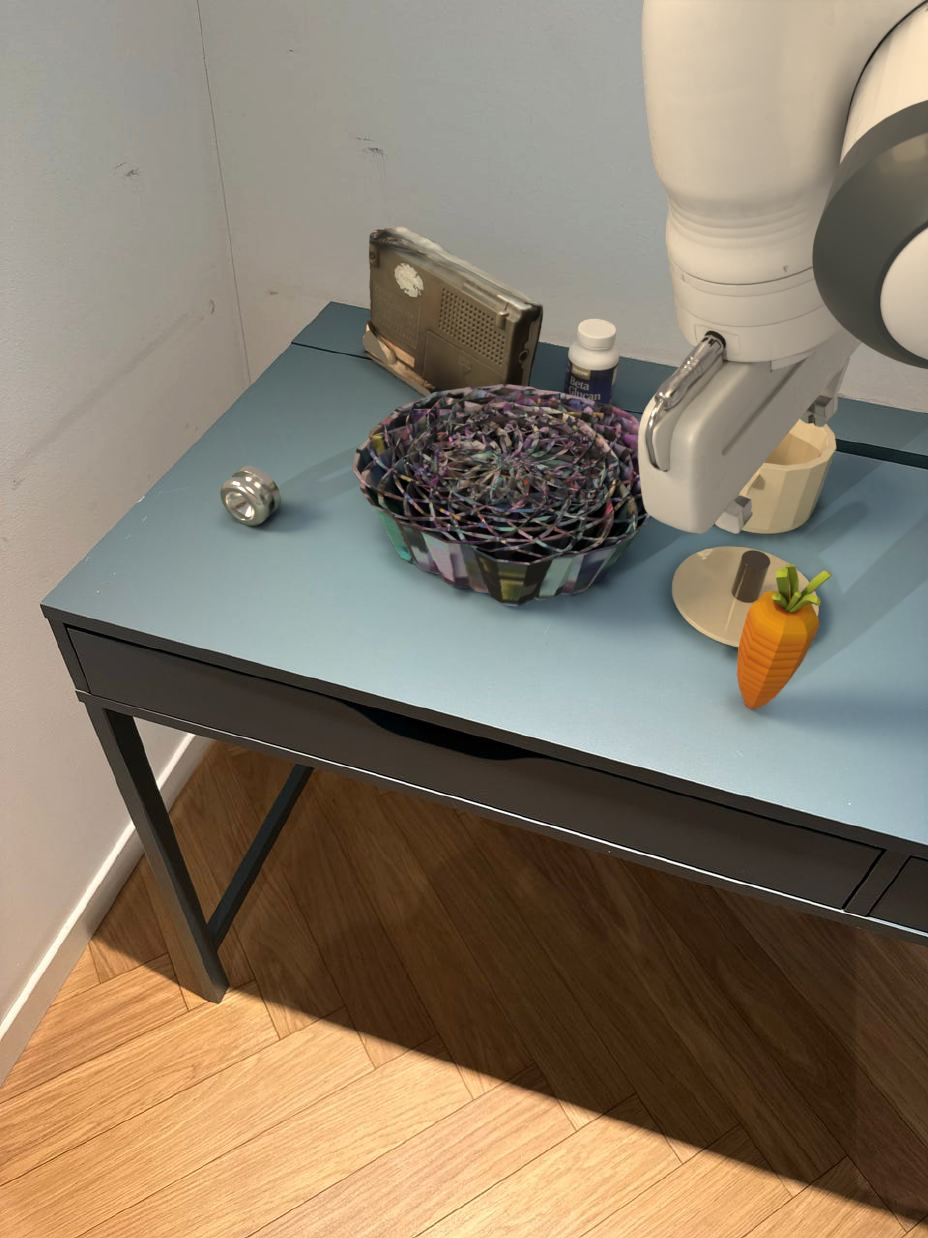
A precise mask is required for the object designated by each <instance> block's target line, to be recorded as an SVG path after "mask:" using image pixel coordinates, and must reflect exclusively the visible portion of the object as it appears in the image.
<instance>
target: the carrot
mask: <svg viewBox="0 0 928 1238" xmlns="http://www.w3.org/2000/svg"><path fill="white" fill-rule="evenodd" d="M785 567H786V568H780V569H777V572H776V579H777V586H778V590H779V591H767V592H764V593H763V594H762V595H761V596H760V597H759V598H758V599H757V600H756V601H755V603H754V604H753V605H752V606H751V607H750V608H749V610H748V613H747V617H746V620H745V624H744V627H743V631H742V635H741V639H740V643H739V647H737V661H736V678H737V684H738V688H739V689H738V690H739V692H740V694H741V698H742V700H743V703H744V705H745V707H746V708H748V709H749V710H758V709H760V708H762V707H763V706H766V705H767V704H768V703H770V702H771V701H772V700H774V699H775V698H776V697H777V696H778V694H779V693H780V692H781V691H782V690H784V687H785V686H786V685H787V684H788V682H789V681H790V680H791V679H792V677H793V676H794V675H795V674H796V672H797V671H798V669H799V668H800V666H801V665H802V664H803V662H804V659H805V657H806V655H807V654H808V651H809V649H810V647H811V646H812V643H813V641H814V638H815V636H816V635H817V632H818V630H819V627H820V619H819V616H818V617H817V615H816V613H815V610H814V608H813V606H812V604H815V605H818V606H819V607H820V606H821V604H822V600H821V597H818V596H817V597H816V596H814V595H811V593H812V592H814V591H815V592H816V590H817V589H818V588H819V587H821V586H822V584H824V583H825V582H826V581H828V580H829V579H830V578H831V577H832V576H833V575H832V574H831V572H830V571H829V570H826V569H825V570H823V571H821V572H819V573H818V574H817V575H816V576H814V577H813V578H812V580H811V581H809V582H810V583H809V584H808V585H807V586H806V587H805V589H804V590H803V591H802V592H800V591H798V587H799V579H798V574H797V570H798V569H797V568H796V564H795V563H789V564H788V565H785ZM796 569H797V570H796ZM789 583H790V590H789Z"/></svg>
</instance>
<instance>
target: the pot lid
mask: <svg viewBox="0 0 928 1238" xmlns="http://www.w3.org/2000/svg"><path fill="white" fill-rule="evenodd" d="M788 564H790V563H789V562H788V561H785V560H783V559H782V558H780V557H777V556H776V555H773V554H771V553H768V552H765V551H762V550H759V549H756V548H749V547H746V546H745V547H744V546H733V545H732V546H731V545H730V546H729V545H728V546H727V545H726V546H716V547H710V548H709V547H708V548H706V549H702V550H699V551H697V552H695V553H694V554H691V555H689V556H688V557H686V559H684V560H682V562H681V563H680V564H679V566H678V567H677V568H676V570H675V572H674V575H673V577H672V582H671V596H672V599H673V602H674V604H675V607H676V608H677V610H678V612H679V613H680V615H681V616H682V617H683V619H684V620H685V621H687V623H688V624H689V625H690V626H692V627H693V628H694V629H695V630H697V631H698V632H699V633H701V634H703V635H705V636H706V637H708V638H711V639H712V640H714V641H716V642H719V643H722V644H723V645H728V646H731V647H735V648H738V647H739V643H740V639H741V635H742V631H743V627H744V624H745V620H746V617H747V613H748V610H749V608H750V607H751V606H752V605H753V604H754V603H755V601H756V600H757V599H758V598H759V597H760V596H761V595H762V594H763V593H764V592H767V591H779V590H778V586H777V579H776V572H777V569H780V568H786V567H785V565H788ZM796 570H797V574H798V579H799V587H798V591H800V592H802V591H803V590H804V589H805V587H806V586H807V585H808V584H809V583H810V582H811V581H809V580H808V578H807V577H806V576H805V575H804V574H803V573H802V572H801V571H800V570H798V569H797V568H796ZM789 590H790V583H789ZM811 595H814V596H816V597H818V595H817V593H816V590H815V591H814V592H812V593H811ZM812 606H813V608H814V610H815V613H816V615H817V617H818V618H819V613H820V606H818V605H815V604H812Z"/></svg>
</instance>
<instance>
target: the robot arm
mask: <svg viewBox="0 0 928 1238" xmlns="http://www.w3.org/2000/svg"><path fill="white" fill-rule="evenodd" d="M640 34H641V35H640V36H641V37H640V39H641V66H642V77H643V91H644V103H645V111H646V120H647V128H648V137H649V144H650V150H651V157H652V162H653V166H654V170H655V172H656V175H657V177H658V179H659V182H660V183H661V185H662V187H663V189H664V191H665V194H666V197H667V203H668V210H667V218H666V222H665V229H664V230H665V237H664V238H665V247H666V252H667V260H668V266H669V267H668V268H669V273H670V279H671V281H670V282H671V287H672V292H673V298H674V306H675V312H676V319H677V325H678V327H679V330H680V332H681V334H682V336H683V337H684V338H685V340H686V341H687V342H688V343H689V344H690V345H691V346H693V347H694V348H693V349H692V350H691V351H690V353H688V354H687V355H686V357H685V358H684V360H683V361H682V363H681V365H680V366H678V368H677V369H676V370H675V371H674V373H672V374H671V375H670V376H668V378H666V380H664V381H663V382H662V384H661V385H660V386H659V387H658V389H657V391H656V393H655V394H654V395H653V396H652V398H651V399H650V400H649V402H648V403H647V405H646V407H645V408H644V411H643V413H642V415H641V418H640V422H639V423H640V425H639V431H638V463H639V474H640V485H641V492H642V499H643V504H644V508H645V510H646V512H647V513H648V514H649V515H650V516H651V518H653V519H655V520H656V521H659V522H661V523H663V524H665V525H667V526H669V527H672V528H674V529H677V530H679V531H682V532H687V533H692V534H705V533H707V532H708V531H710V529H712V527H713V525H715V526H716V527H718V528H719V529H722V530H723V531H726V532H729V533H732V534H735V535H737V534H740V532H741V531H742V530H741V529H742V528H743V527H744V526H745V524H746V523H747V522H748V520H749V519H750V518H751V517H752V515H753V513H752V511H751V508H752V502H751V499H749V498H747V497H744V496H742V495H740V496H739V494H740V491H741V490H742V489H743V488H744V486H745V485H746V484H747V483H748V482H749V480H750V479H751V478H752V477H753V475H754V474H755V473H756V472H757V471H758V469H759V468H760V467H761V466H762V464H763V463H764V462H765V461H766V460H767V458H768V457H769V456H770V455H771V453H772V452H773V451H774V450H775V449H776V447H777V446H778V445H779V444H780V442H781V441H782V440H783V439H784V437H785V436H786V435H787V434H788V433H789V431H790V430H791V429H792V428H793V426H794V425H795V424H796V423H797V422H798V420H799V419H801V421H803V422H805V423H807V424H812V423H813V424H814V425H815V426H817V427H824V425H825V424H827V423H828V422H829V421H830V420H831V418H832V417H833V416H834V415H835V414H836V412H837V411H838V410H839V409H838V408H839V407H838V405H839V399H838V398H839V392H840V389H841V386H842V384H843V380H844V377H845V375H846V372H847V369H848V366H849V363H850V360H851V357H852V356H853V354H854V353H855V352H856V350H858V348H859V347H860V346H861V344H863V345H866V346H867V347H868V348H870V349H871V350H874V351H875V352H877V353H879V354H881V355H882V356H885V357H887V358H889V359H891V360H894V361H897V362H899V363H901V364H904V365H907V366H911V367H915V368H919V369H923V370H928V0H643V4H642V11H641V33H640Z"/></svg>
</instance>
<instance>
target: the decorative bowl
mask: <svg viewBox="0 0 928 1238" xmlns="http://www.w3.org/2000/svg"><path fill="white" fill-rule="evenodd" d="M639 425H640V422H639V420H638V419H637V418H636V417H635V416H634V414H632V413H630V412H627V411H625V410H623V409H622V408H619V407H616V406H615V405H612V406H611V405H607V404H603V403H599V402H595V401H593V400H589V399H585V398H581V397H577V396H573V395H569V394H565V393H563V392H560V391H555V390H554V391H552V390H547V389H546V390H545V389H538V388H535V387H533V386H529V387H527V386H518V385H508V384H500V385H494V386H488V387H475V386H470V387H467V388H461V389H454V390H447V391H441V392H434V393H432V394H430V395H428V396H427V397H426V396H425V397H423V398H419V399H416V400H413V401H411V402H408V403H406V404H403V405H400V406H398V407H396V408H395V409H394V410H393V411H392V412H391V413H390V414H389V415H388V416H386V417H385V418H384V419H382V420H381V421H380V422H378V424H376V425H375V426H373V428H371V429H370V430H369V433H368V437H367V439H366V440H365V441H363V442H362V444H360V445H359V446H358V447H357V448H356V449H355V454H354V458H353V462H352V466H351V469H352V471H353V472H354V474H355V475H356V476H357V478H358V479H359V481H360V483H359V490H360V491H361V493H362V494H363V496H364V497H365V498H366V499H367V501H368V503H369V504H370V505H371V507H372V508H373V509H374V511H375V512H376V515H377V516H378V519H379V521H380V522H381V524H382V526H383V527H384V530H385V531H386V534H387V535H388V537H389V539H390V542H391V543H392V545H393V547H394V549H395V551H396V553H397V554H398V556H399V557H400V558H401V560H404V561H407V562H410V563H414V565H416V567H417V568H418V569H419V570H420V571H423V572H428V573H432V574H436V575H439V576H440V577H441V579H442V580H443V582H444V583H447V584H448V585H451V586H453V587H456V588H462V589H468V588H470V587H471V588H472V589H473V591H474V592H477V593H484V594H489V596H490V597H491V598H492V599H493V600H495V601H497V602H498V603H499V604H501V605H503V606H507V607H517V608H518V607H520V606H522V605H524V604H526V603H528V602H531V601H532V600H533V599H534V600H536V601H538V602H539V601H545V600H549V599H553V598H556V597H560V596H561V595H562V596H569V597H575V596H577V595H579V594H580V593H583V592H585V591H587V590H588V589H589V588H590V587H591V585H592V584H593V583H595V582H598V581H600V580H602V579H604V578H605V577H606V576H607V575H608V573H609V571H610V570H611V569H612V568H613V566H614V565H615V563H617V562H618V561H619V559H620V558H621V557H622V556H623V554H624V553H625V552H626V550H627V549H628V547H629V546H630V544H632V541H633V540H634V539H635V538H636V536H637V535H638V533H639V532H640V530H641V529H643V528H645V527H647V526H648V524H649V522H650V519H651V518H652V516H650V515H649V514H648V513H647V512H646V510H645V508H644V504H643V499H642V492H641V485H640V474H639V463H638V431H639Z"/></svg>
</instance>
